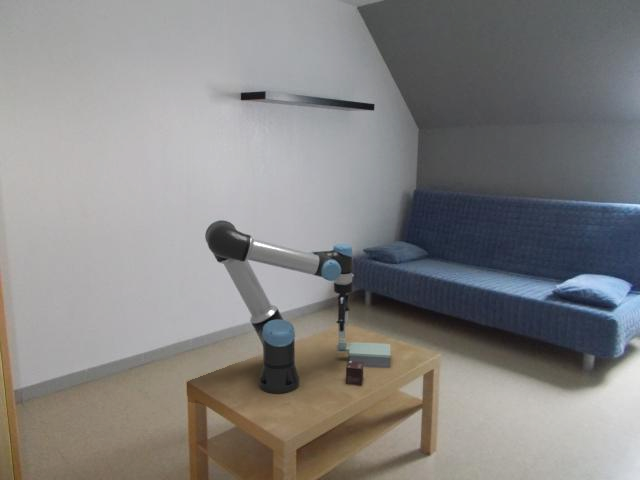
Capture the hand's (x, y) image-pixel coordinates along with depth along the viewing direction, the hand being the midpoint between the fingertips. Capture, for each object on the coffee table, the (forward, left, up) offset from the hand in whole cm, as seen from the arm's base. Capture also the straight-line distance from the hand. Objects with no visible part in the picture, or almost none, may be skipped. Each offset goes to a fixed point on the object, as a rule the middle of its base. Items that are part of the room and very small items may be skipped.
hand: (343, 331), depth 204 cm
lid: (+8, 0, -8) cm, 11 cm away
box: (+6, -19, -13) cm, 24 cm away
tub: (+11, 0, -13) cm, 17 cm away
